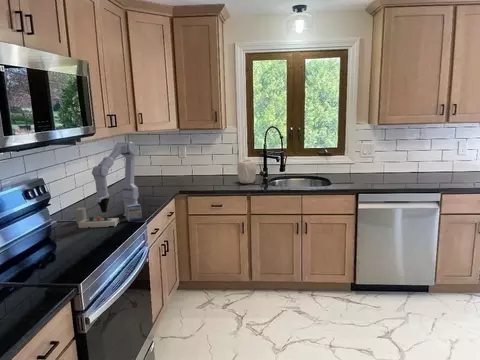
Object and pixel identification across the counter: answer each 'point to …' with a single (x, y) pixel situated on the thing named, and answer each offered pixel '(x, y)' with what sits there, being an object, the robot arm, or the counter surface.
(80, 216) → the grey cord holder
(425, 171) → the counter surface
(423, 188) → the counter surface
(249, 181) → the white faceted vase
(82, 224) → the power strip
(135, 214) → the medicine box
